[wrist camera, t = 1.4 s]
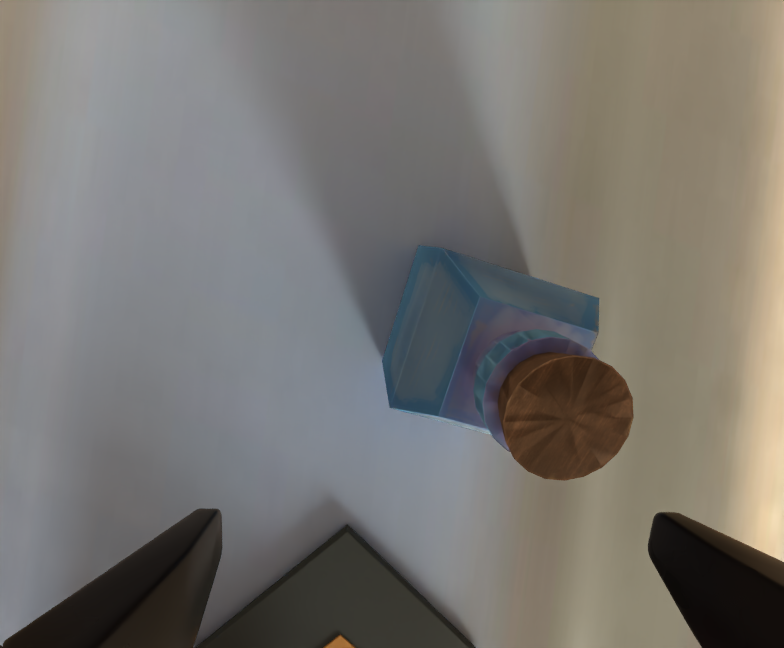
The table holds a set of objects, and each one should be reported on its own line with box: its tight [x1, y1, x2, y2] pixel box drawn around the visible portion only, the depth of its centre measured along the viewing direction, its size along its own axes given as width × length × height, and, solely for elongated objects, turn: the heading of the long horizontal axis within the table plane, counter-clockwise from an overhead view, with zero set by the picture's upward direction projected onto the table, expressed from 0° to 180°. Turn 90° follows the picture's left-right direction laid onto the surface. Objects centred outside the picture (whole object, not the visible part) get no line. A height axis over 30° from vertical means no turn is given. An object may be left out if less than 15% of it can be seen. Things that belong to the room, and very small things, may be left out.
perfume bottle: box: [382, 245, 633, 480], centre depth 16 cm, size 6×6×12 cm
